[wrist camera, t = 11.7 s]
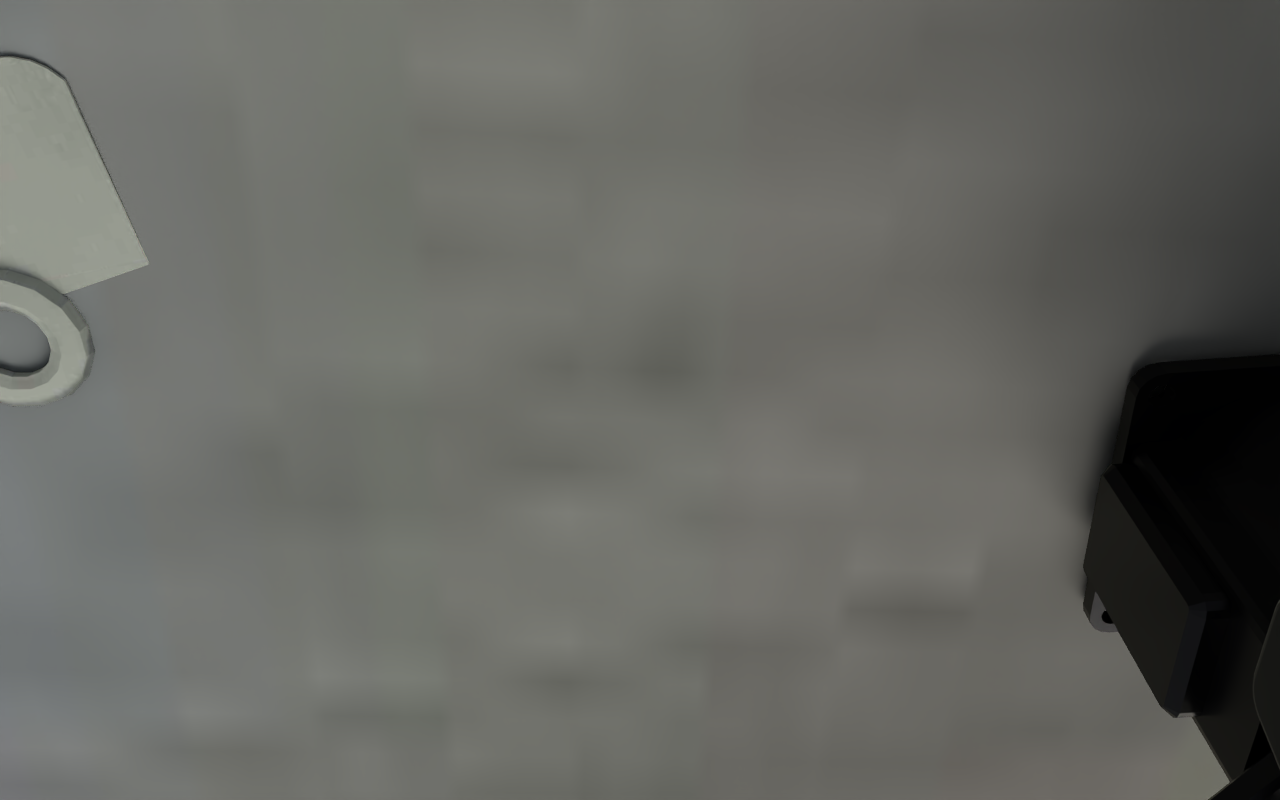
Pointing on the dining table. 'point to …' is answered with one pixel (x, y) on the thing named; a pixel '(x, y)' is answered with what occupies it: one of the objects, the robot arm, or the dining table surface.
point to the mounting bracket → (53, 225)
